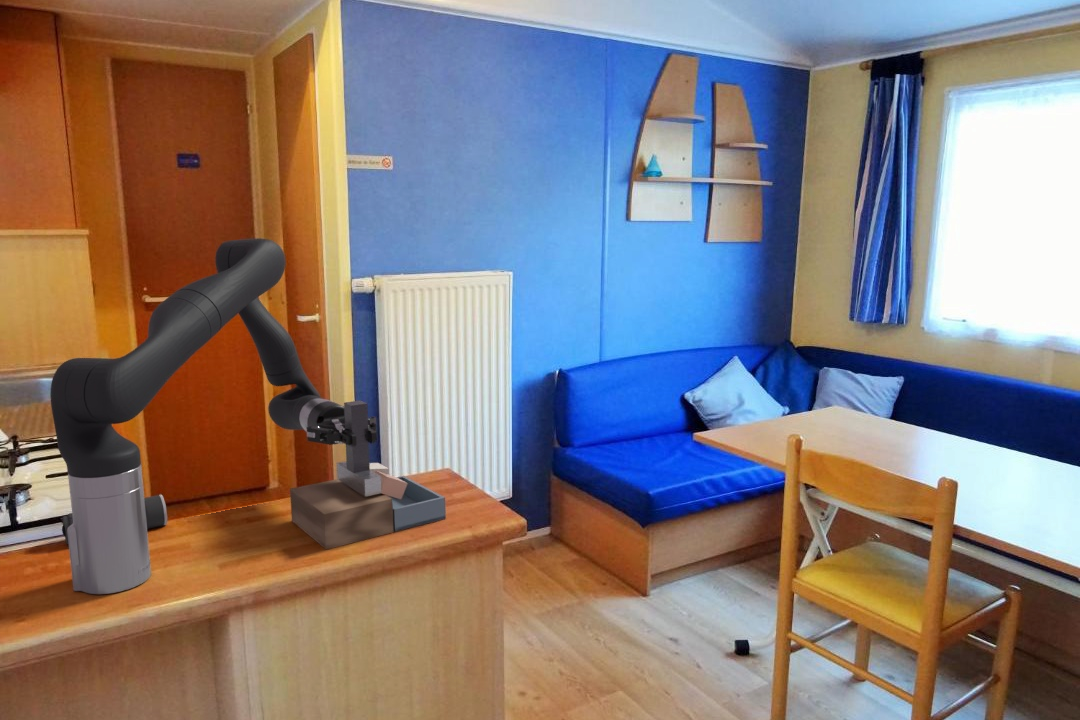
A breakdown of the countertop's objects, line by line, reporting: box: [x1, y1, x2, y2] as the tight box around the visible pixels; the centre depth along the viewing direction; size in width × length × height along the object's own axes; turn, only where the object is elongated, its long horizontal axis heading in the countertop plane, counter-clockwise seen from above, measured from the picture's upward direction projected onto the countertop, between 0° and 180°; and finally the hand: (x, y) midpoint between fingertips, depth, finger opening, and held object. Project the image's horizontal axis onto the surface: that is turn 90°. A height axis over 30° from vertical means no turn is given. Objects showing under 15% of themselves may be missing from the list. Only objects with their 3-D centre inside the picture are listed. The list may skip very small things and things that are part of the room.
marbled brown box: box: [289, 478, 395, 550], centre depth 132 cm, size 12×16×6 cm
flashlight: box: [61, 494, 168, 545], centre depth 130 cm, size 15×5×5 cm, turn 128°
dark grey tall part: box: [336, 400, 381, 497], centre depth 133 cm, size 3×12×15 cm, turn 37°
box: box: [387, 475, 447, 532], centre depth 139 cm, size 10×16×4 cm, turn 37°
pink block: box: [375, 471, 408, 499], centre depth 134 cm, size 4×4×3 cm
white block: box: [369, 462, 390, 475], centre depth 138 cm, size 4×4×3 cm
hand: (364, 439), depth 130 cm, fingers closed on dark grey tall part, 3 cm apart
